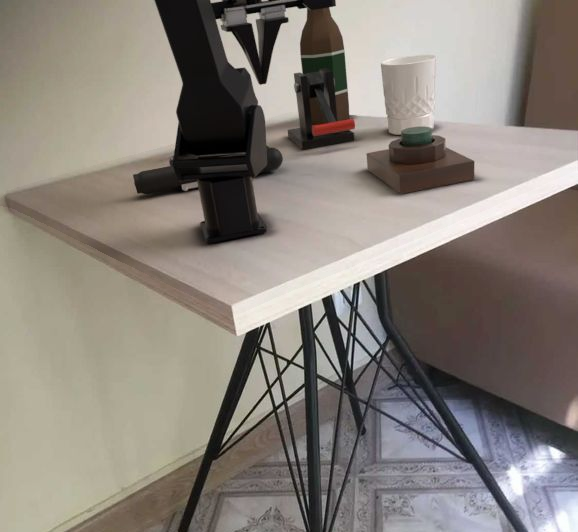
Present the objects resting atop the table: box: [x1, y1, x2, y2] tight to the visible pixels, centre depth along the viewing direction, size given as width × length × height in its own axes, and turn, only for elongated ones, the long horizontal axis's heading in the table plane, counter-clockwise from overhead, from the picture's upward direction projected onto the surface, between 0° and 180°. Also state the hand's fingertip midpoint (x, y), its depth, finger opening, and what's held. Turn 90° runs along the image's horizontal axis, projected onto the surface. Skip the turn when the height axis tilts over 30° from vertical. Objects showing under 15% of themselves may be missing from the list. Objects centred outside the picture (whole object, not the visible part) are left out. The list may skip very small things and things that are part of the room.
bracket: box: [287, 68, 355, 151], centre depth 106 cm, size 10×8×10 cm
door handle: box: [132, 144, 284, 195], centre depth 97 cm, size 3×20×16 cm
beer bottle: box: [299, 7, 350, 125], centre depth 114 cm, size 8×8×24 cm
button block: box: [365, 134, 475, 195], centre depth 84 cm, size 12×9×4 cm
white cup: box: [380, 54, 437, 136], centre depth 103 cm, size 8×8×10 cm
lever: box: [305, 71, 356, 136], centre depth 102 cm, size 12×6×2 cm, turn 13°
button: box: [400, 127, 433, 146], centre depth 82 cm, size 4×4×2 cm
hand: (262, 83), depth 84 cm, fingers closed
